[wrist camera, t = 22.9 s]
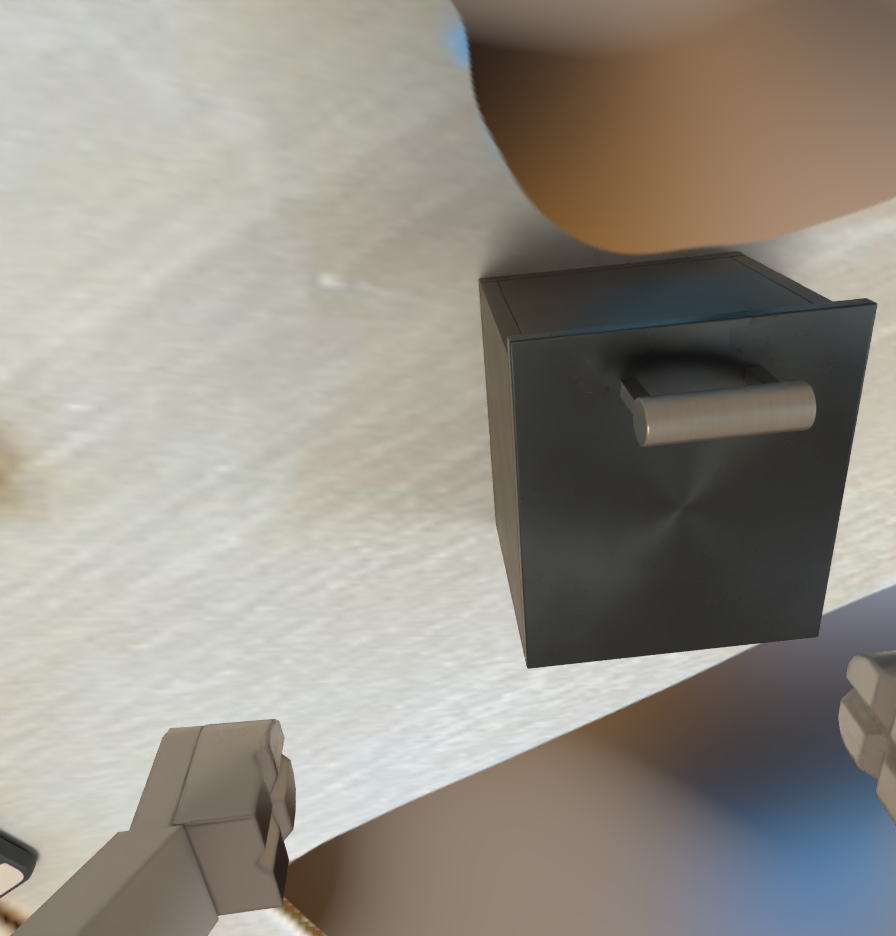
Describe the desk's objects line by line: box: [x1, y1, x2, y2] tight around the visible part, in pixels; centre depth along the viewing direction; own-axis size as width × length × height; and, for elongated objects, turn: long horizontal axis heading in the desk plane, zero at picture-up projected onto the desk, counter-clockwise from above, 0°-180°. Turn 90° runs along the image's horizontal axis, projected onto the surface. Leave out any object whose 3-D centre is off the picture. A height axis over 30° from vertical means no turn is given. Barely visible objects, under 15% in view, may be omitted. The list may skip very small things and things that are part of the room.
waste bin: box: [479, 252, 833, 656], centre depth 39 cm, size 16×14×12 cm
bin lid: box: [507, 298, 877, 668], centre depth 31 cm, size 17×14×5 cm
